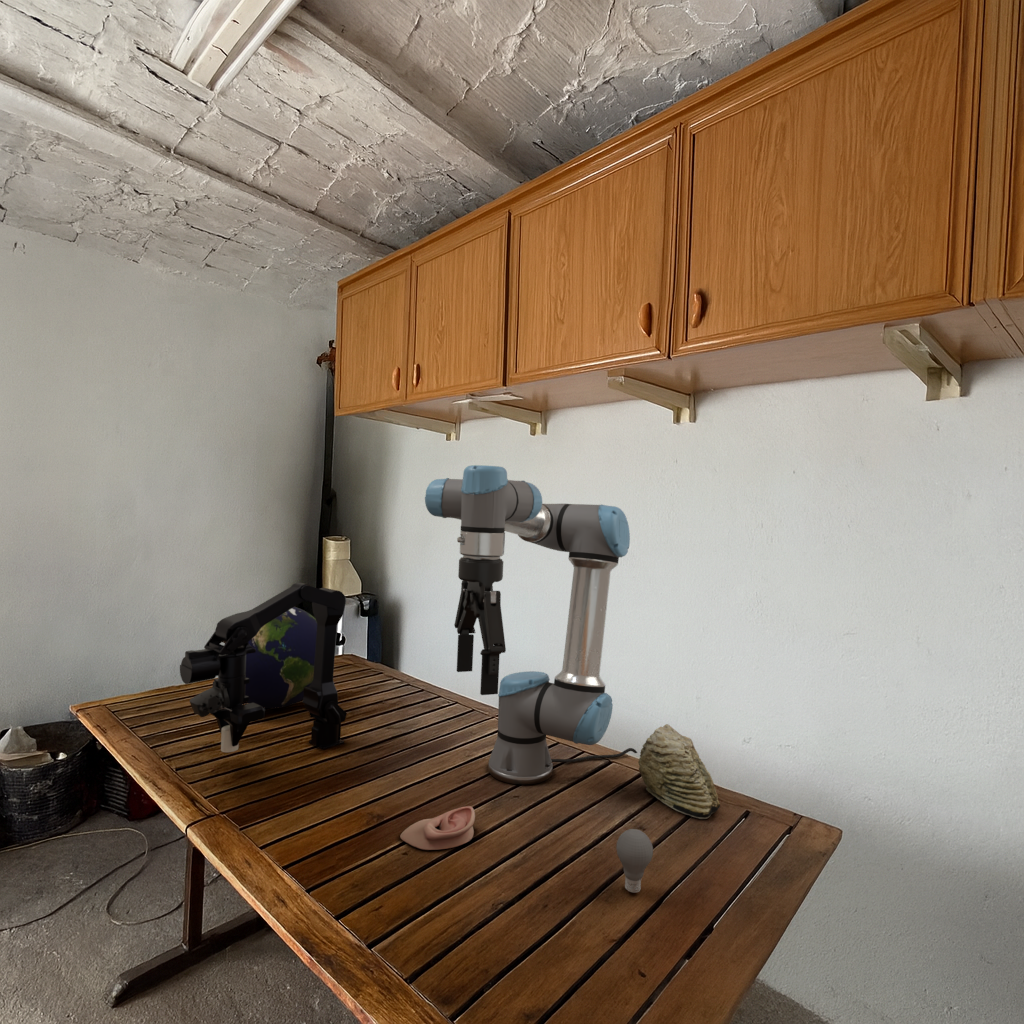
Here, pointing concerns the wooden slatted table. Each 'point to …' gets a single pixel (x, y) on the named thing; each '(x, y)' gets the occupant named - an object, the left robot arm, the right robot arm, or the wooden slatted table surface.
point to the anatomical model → (442, 830)
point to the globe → (282, 660)
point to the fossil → (677, 774)
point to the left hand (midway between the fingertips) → (230, 743)
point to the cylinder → (227, 740)
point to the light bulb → (634, 857)
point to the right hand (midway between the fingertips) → (476, 682)
